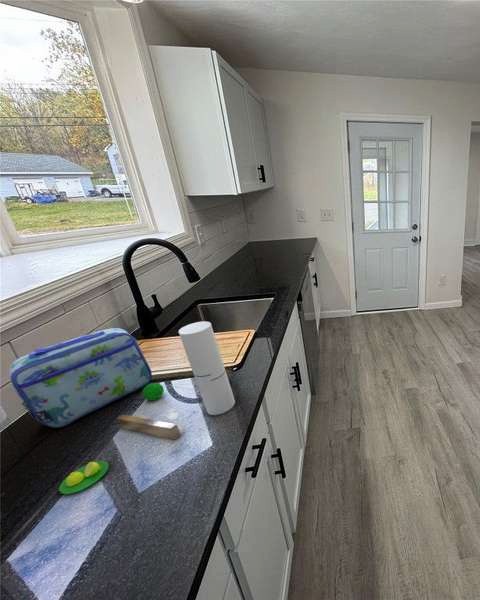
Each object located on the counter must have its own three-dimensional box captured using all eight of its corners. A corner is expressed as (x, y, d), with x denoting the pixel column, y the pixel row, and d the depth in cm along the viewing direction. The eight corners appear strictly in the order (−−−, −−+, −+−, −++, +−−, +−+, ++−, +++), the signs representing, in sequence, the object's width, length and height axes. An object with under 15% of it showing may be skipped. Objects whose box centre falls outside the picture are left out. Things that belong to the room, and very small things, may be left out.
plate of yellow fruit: (102, 457, 74) (97, 448, 73) (115, 472, 70) (110, 462, 69) (55, 485, 67) (49, 475, 66) (67, 502, 64) (61, 492, 62)
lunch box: (41, 439, 80) (-1, 370, 73) (35, 422, 87) (-5, 357, 79) (158, 385, 100) (134, 326, 92) (146, 374, 106) (123, 318, 98)
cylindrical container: (208, 402, 91) (181, 325, 81) (235, 395, 93) (212, 319, 84) (205, 418, 84) (175, 336, 75) (234, 410, 87) (209, 330, 78)
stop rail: (122, 428, 82) (117, 418, 81) (128, 424, 84) (123, 413, 83) (175, 439, 78) (170, 428, 77) (181, 434, 79) (176, 424, 78)
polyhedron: (152, 405, 91) (146, 391, 89) (141, 401, 93) (135, 388, 91) (169, 394, 95) (164, 381, 93) (159, 391, 97) (153, 378, 95)
